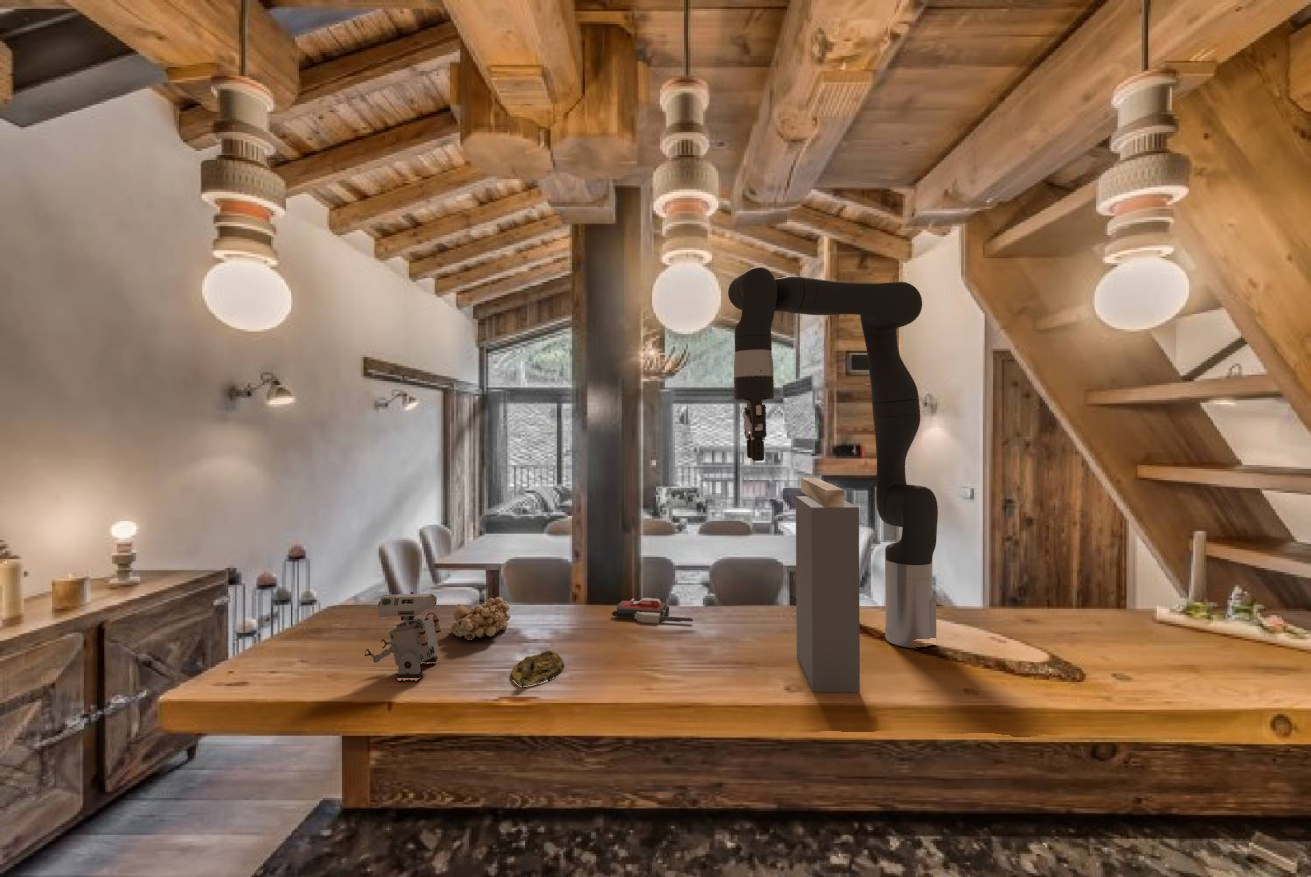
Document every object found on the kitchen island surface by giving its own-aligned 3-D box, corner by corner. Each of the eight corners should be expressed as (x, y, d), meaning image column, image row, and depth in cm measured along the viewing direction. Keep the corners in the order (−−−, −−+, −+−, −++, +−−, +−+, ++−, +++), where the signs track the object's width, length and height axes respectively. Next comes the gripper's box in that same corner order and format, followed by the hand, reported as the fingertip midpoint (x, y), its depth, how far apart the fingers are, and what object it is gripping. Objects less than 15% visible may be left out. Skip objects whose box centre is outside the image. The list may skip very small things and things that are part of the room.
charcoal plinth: (837, 656, 117) (836, 496, 117) (859, 692, 101) (859, 507, 101) (796, 655, 118) (795, 496, 117) (812, 691, 102) (811, 507, 101)
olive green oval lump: (527, 661, 120) (501, 694, 105) (524, 638, 120) (497, 668, 105) (572, 657, 119) (551, 689, 104) (569, 634, 119) (548, 663, 104)
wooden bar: (815, 491, 125) (815, 477, 125) (844, 507, 101) (844, 490, 101) (801, 491, 125) (801, 477, 125) (826, 507, 101) (826, 490, 101)
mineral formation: (514, 624, 139) (506, 643, 124) (456, 637, 137) (441, 658, 122) (508, 590, 139) (499, 605, 124) (450, 603, 137) (434, 619, 122)
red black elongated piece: (609, 622, 140) (692, 627, 136) (608, 604, 140) (692, 608, 136) (618, 611, 149) (697, 615, 145) (618, 593, 149) (697, 597, 145)
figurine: (387, 663, 117) (386, 588, 116) (445, 662, 117) (444, 587, 116) (364, 683, 108) (362, 601, 107) (427, 682, 107) (425, 601, 107)
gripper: (779, 371, 106) (780, 461, 107) (768, 377, 120) (769, 456, 121) (737, 372, 107) (739, 462, 107) (731, 378, 121) (732, 457, 121)
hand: (755, 459), depth 114 cm, fingers open, 8 cm apart
